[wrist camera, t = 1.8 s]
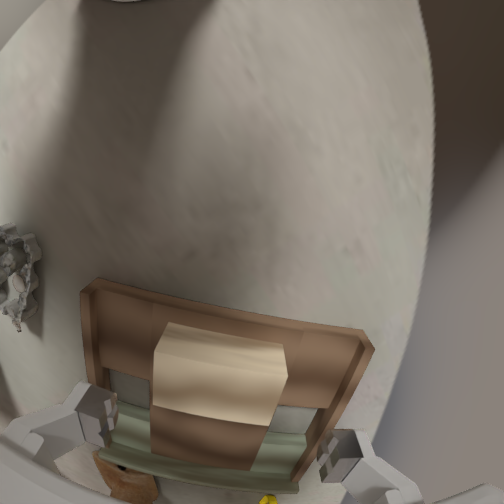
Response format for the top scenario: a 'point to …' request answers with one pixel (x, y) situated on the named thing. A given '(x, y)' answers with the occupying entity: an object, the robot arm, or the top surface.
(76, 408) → the robot arm
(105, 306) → the brown shallow open piece
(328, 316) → the top surface
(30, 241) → the egg carton
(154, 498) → the clay pipe
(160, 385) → the block
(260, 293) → the top surface
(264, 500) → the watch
